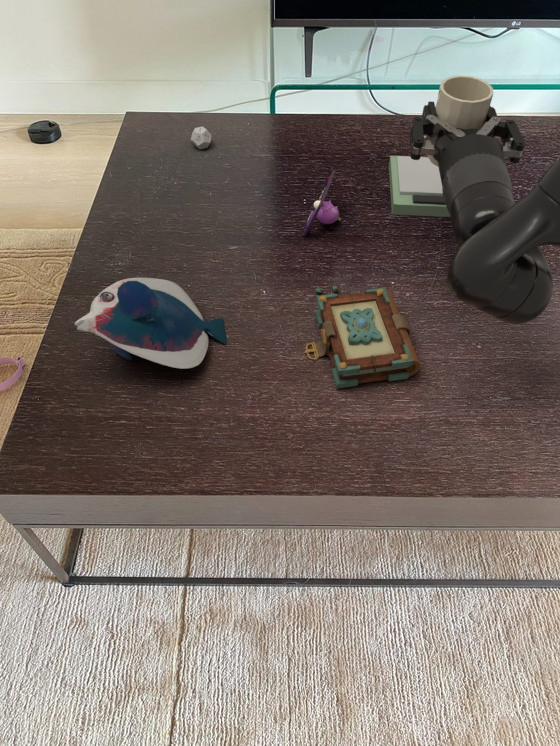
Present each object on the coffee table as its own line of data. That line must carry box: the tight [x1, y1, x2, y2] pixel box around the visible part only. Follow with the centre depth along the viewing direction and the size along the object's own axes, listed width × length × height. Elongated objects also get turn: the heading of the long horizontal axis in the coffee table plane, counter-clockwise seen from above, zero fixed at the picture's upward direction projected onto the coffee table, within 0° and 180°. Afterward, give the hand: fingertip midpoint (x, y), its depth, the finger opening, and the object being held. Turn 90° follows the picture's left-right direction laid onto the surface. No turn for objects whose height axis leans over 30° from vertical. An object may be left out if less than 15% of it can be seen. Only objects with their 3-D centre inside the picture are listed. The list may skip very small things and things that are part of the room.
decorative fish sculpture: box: [74, 277, 228, 370], centre depth 78 cm, size 20×12×15 cm
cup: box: [426, 75, 494, 167], centre depth 83 cm, size 7×7×10 cm
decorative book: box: [304, 285, 421, 389], centre depth 80 cm, size 13×18×5 cm
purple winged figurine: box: [302, 169, 342, 237], centre depth 94 cm, size 7×5×9 cm
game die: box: [190, 125, 213, 150], centre depth 108 cm, size 4×4×3 cm
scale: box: [388, 155, 451, 218], centre depth 100 cm, size 13×13×3 cm
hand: (456, 108), depth 83 cm, fingers closed on cup, 6 cm apart
